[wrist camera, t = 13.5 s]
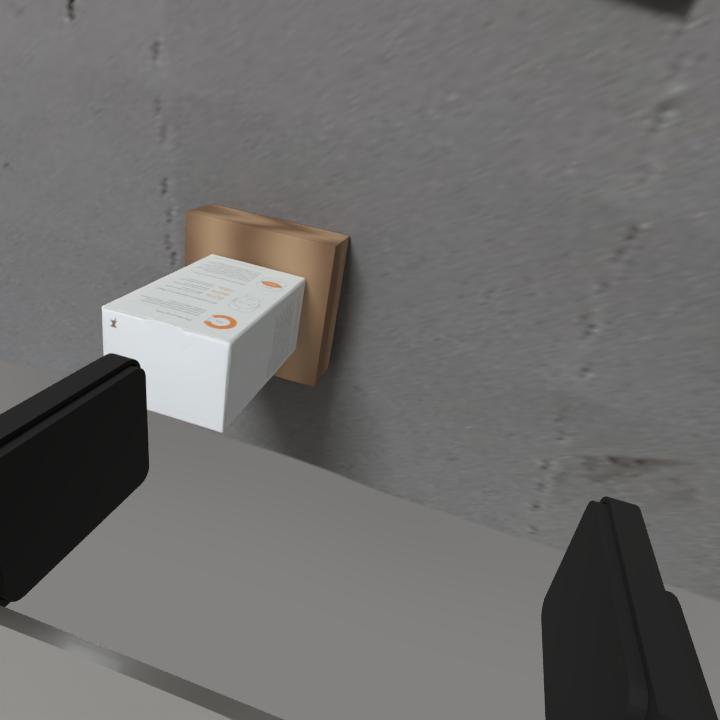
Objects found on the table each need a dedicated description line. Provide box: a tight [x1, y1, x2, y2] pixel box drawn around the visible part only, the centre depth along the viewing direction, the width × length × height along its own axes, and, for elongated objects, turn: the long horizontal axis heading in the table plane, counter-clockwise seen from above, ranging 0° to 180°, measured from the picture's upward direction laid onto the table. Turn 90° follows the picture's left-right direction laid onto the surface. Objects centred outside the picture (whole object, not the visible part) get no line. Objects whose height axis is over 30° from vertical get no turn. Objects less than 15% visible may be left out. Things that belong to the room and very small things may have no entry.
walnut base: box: [185, 204, 350, 387], centre depth 44 cm, size 12×12×4 cm
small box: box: [102, 254, 306, 433], centre depth 36 cm, size 8×6×13 cm
